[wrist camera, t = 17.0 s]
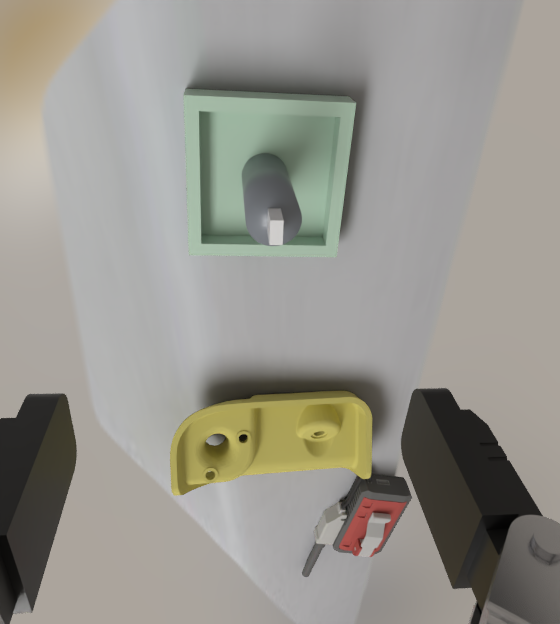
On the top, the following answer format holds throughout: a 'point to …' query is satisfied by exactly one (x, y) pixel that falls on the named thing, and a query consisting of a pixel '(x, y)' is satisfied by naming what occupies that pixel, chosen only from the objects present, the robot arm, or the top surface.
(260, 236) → the grey bottle white cap
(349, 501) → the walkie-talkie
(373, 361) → the top surface
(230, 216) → the tray
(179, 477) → the plastic component
